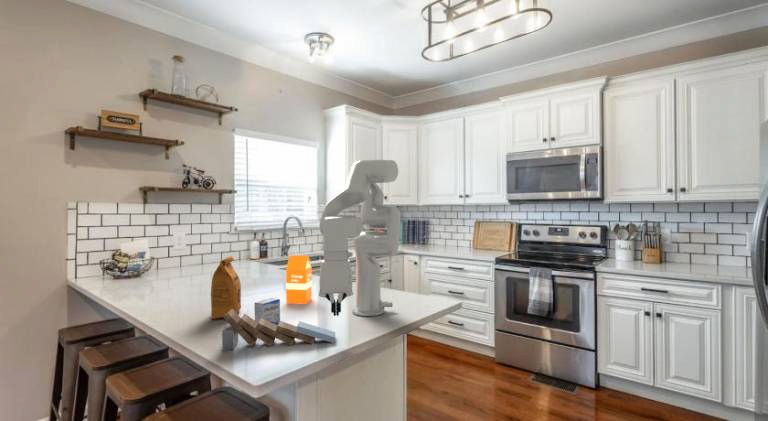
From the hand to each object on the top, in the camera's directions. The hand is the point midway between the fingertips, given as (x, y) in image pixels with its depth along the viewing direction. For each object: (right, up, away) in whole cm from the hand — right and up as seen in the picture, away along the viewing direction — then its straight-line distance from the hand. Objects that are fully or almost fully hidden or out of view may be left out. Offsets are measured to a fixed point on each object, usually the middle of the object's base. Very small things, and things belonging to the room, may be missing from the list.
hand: (336, 314), depth 121 cm
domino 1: (-24, -7, -4) cm, 26 cm away
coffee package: (-45, -8, +27) cm, 53 cm away
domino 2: (-19, -8, -3) cm, 21 cm away
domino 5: (-1, -7, 0) cm, 7 cm away
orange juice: (-22, -7, +47) cm, 53 cm away
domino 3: (-13, -7, -2) cm, 15 cm away
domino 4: (-7, -7, -1) cm, 10 cm away
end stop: (-31, -8, -5) cm, 33 cm away
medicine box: (-26, -8, +15) cm, 31 cm away
